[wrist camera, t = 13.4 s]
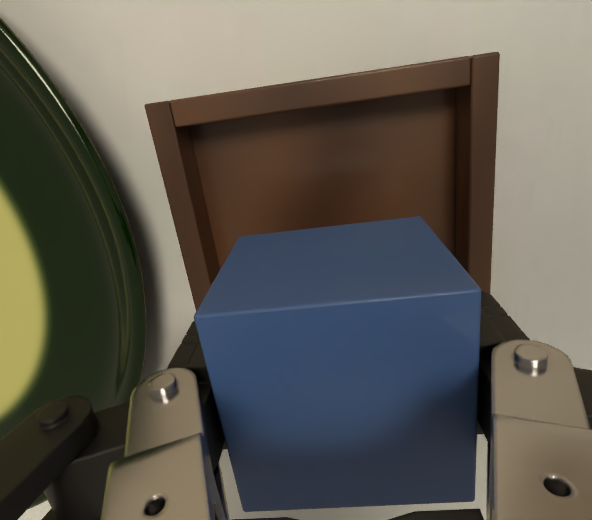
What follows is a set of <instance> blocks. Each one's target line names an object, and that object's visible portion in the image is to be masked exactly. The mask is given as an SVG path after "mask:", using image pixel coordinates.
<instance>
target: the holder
mask: <svg viewBox="0 0 592 520" xmlns="http://www.w3.org/2000/svg"><path fill="white" fill-rule="evenodd" d="M499 57H500V54H499V52H492V53H486V54H479V55H473V56H465V57H459V58H452V59H445V60H438V61H432V62H425V63H418V64H412V65H405V66H398V67H392V68H385V69H378V70H371V71H365V72H358V73H351V74H345V75H338V76H331V77H324V78H318V79H311V80H304V81H298V82H291V83H284V84H278V85H271V86H264V87H257V88H251V89H244V90H237V91H231V92H224V93H217V94H210V95H204V96H197V97H190V98H184V99H177V100H171V101H163V102H157V103H150V104H145V109H146V113H147V117H148V121H149V125H150V129H151V133H152V137H153V141H154V145H155V149H156V153H157V157H158V161H159V165H160V169H161V173H162V177H163V181H164V185H165V189H166V193H167V197H168V201H169V204H170V208H171V212H172V216H173V220H174V224H175V228H176V232H177V236H178V240H179V244H180V248H181V252H182V256H183V260H184V264H185V268H186V272H187V276H188V280H189V284H190V288H191V292H192V296H193V300H194V304H195V308H196V311H197V310H198V308H199V306H200V304H201V303H202V301H203V299H204V297H205V296H206V294H207V292H208V290H209V289H210V287H211V285H212V283H213V282H214V280H215V278H216V276H217V275H218V273H219V271H220V269H221V268H222V266H223V264H224V262H225V261H226V259H227V257H228V255H229V254H230V252H231V250H232V248H233V246H234V245H235V243H236V241H237V239H238V238H239V237H240V236H249V235H257V234H266V233H275V232H284V231H293V230H302V229H311V228H320V227H328V226H337V225H346V224H355V223H364V222H373V221H382V220H391V219H400V218H408V217H417V216H420V217H422V218H423V220H424V221H425V222H426V223H427V225H428V226H429V227H430V228H431V229H432V231H433V232H434V233H435V234H436V235H437V237H438V238H439V239H440V240H441V241H442V243H443V244H444V245H445V246H446V247H447V249H448V250H449V251H450V252H451V253H452V255H453V256H454V257H455V258H456V259H457V261H458V262H459V263H460V264H461V266H462V267H463V268H464V269H465V270H466V272H467V273H468V274H469V275H470V276H471V278H472V279H473V280H474V281H475V282H476V284H477V285H478V286H479V287H480V289H481V290H482V291H484V292H486V293H488V294H490V283H491V258H492V233H493V208H494V183H495V158H496V133H497V108H498V83H499Z"/></svg>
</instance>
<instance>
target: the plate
mask: <svg viewBox="0 0 592 520" xmlns="http://www.w3.org/2000/svg"><path fill="white" fill-rule="evenodd" d="M146 333H147V329H146V304H145V294H144V285H143V279H142V273H141V267H140V262H139V257H138V253H137V249H136V245H135V241H134V237H133V234H132V231H131V228H130V225H129V222H128V218H127V215H126V213H125V210H124V208H123V205H122V203H121V200H120V198H119V195H118V193H117V191H116V189H115V186H114V184H113V182H112V180H111V177H110V175H109V173H108V172H107V170H106V168H105V166H104V164H103V162H102V160H101V158H100V156H99V154H98V152H97V150H96V149H95V147H94V145H93V143H92V141H91V140H90V138H89V136H88V135H87V133H86V131H85V130H84V128H83V126H82V125H81V123H80V121H79V120H78V118H77V116H76V115H75V113H74V112H73V110H72V109H71V107H70V106H69V104H68V103H67V101H66V100H65V98H64V97H63V95H62V94H61V92H60V91H59V90H58V88H57V87H56V85H55V84H54V83H53V81H52V80H51V78H50V77H49V76H48V74H47V73H46V72H45V70H44V69H43V68H42V67H41V65H40V64H39V63H38V61H37V60H36V59H35V57H34V56H33V55H32V54H31V52H30V51H29V50H28V49H27V48H26V46H25V45H24V44H23V43H22V42H21V40H20V39H19V38H18V37H17V36H16V35H15V33H14V32H13V31H12V30H11V29H10V28H9V27H8V26H7V24H6V23H5V22H4V21H3V20H2V19H1V18H0V439H1V438H2V437H3V436H5V435H6V434H7V433H8V432H9V431H11V430H12V429H13V428H14V427H15V426H16V425H18V424H19V423H20V422H21V421H22V420H24V419H25V418H26V417H27V416H28V415H30V414H31V413H32V412H34V411H35V410H36V409H38V408H39V407H41V406H43V405H45V404H47V403H49V402H51V401H53V400H56V399H59V398H62V397H66V396H72V395H81V396H85V397H87V398H88V399H89V400H90V402H91V404H92V406H93V409H94V412H97V411H100V410H104V409H107V408H111V407H114V406H118V405H121V404H124V403H127V402H130V397H131V393H132V391H133V390H134V388H135V387H136V386H137V385H138V384H139V383H140V382H141V378H142V374H143V368H144V361H145V352H146ZM47 500H48V499H47V497H46V495H45V493H44V492H43V493H42V494H41V495H40V496H39V497H38V498H37V499H36V500H35V501H34V502H33V503H32V505H31V506H30V507H29V508H28V509H30V508H32V507H34V506H36V505H39V504H41V503H43V502H45V501H47Z"/></svg>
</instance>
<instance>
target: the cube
mask: <svg viewBox="0 0 592 520" xmlns="http://www.w3.org/2000/svg"><path fill="white" fill-rule="evenodd" d="M480 316H481V289H480V287H479V286H478V285H477V284H476V282H475V281H474V280H473V279H472V278H471V276H470V275H469V274H468V273H467V272H466V270H465V269H464V268H463V267H462V266H461V264H460V263H459V262H458V261H457V259H456V258H455V257H454V256H453V255H452V253H451V252H450V251H449V250H448V249H447V247H446V246H445V245H444V244H443V243H442V241H441V240H440V239H439V238H438V237H437V235H436V234H435V233H434V232H433V231H432V229H431V228H430V227H429V226H428V225H427V223H426V222H425V221H424V220H423V218H422V217H420V216H417V217H408V218H400V219H391V220H382V221H373V222H364V223H355V224H346V225H337V226H328V227H320V228H311V229H302V230H293V231H284V232H275V233H266V234H257V235H249V236H240V237H239V238H238V239H237V241H236V243H235V245H234V246H233V248H232V250H231V252H230V254H229V255H228V257H227V259H226V261H225V262H224V264H223V266H222V268H221V269H220V271H219V273H218V275H217V276H216V278H215V280H214V282H213V283H212V285H211V287H210V289H209V290H208V292H207V294H206V296H205V297H204V299H203V301H202V303H201V304H200V306H199V308H198V310H197V311H196V313H195V315H194V319H195V323H196V327H197V331H198V335H199V339H200V343H201V347H202V351H203V355H204V359H205V363H206V367H207V370H208V374H209V378H210V382H211V386H212V390H213V394H214V398H215V402H216V406H217V410H218V414H219V418H220V421H221V425H222V429H223V433H224V437H225V441H226V445H227V449H228V453H229V457H230V461H231V465H232V469H233V473H234V476H235V480H236V484H237V488H238V492H239V496H240V500H241V504H242V508H243V511H245V512H252V511H274V510H296V509H319V508H341V507H363V506H385V505H407V504H429V503H452V502H472V501H474V500H475V475H476V443H477V411H478V380H479V348H480Z"/></svg>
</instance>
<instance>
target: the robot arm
mask: <svg viewBox="0 0 592 520" xmlns="http://www.w3.org/2000/svg"><path fill="white" fill-rule="evenodd" d="M477 434H484V435H485V437H486V439H487V441H488V444H487V505H486V520H592V370H585V369H579V368H574V367H573V365H572V362H571V360H570V359H569V358H568V356H567V355H565V354H564V353H563V352H562V351H560V350H559V349H557V348H555V347H553V346H550V345H548V344H545V343H541V342H537V341H531V340H529V338H528V337H527V336H526V335H525V334H524V333H523V331H522V330H521V329H520V328H519V327H518V326H517V324H516V323H515V322H514V321H513V320H512V319H511V317H510V316H508V315H507V313H506V312H505V310H504V309H503V308H502V307H500V305H499V303H498V302H497V301H496V300H495V299H494V298H493V296H492V295H490V294H488V293H486V292H484V291H482V290H481V316H480V348H479V380H478V411H477ZM222 449H227V445H226V441H225V437H224V433H223V429H222V425H221V421H220V418H219V414H218V410H217V406H216V402H215V398H214V394H213V390H212V386H211V382H210V378H209V374H208V370H207V367H206V363H205V359H204V355H203V351H202V347H201V343H200V339H199V335H198V331H197V327H196V323H195V321H194V322H193V323H192V324H191V326H190V328H189V330H188V332H187V335H185V337H184V339H183V340H182V344H180V346H179V348H178V349H177V351H176V353H175V355H174V357H173V358H172V360H171V362H170V364H169V366H168V367H167V369H165V370H162V371H159V372H156V373H154V374H152V375H150V376H148V377H147V378H145V379H144V380H142V381H141V382H140V383H139V384H138V385H137V386H136V387H135V388H134V390H133V391H132V393H131V397H130V402H127V403H124V404H121V405H118V406H114V407H111V408H107V409H104V410H100V411H97V412H94V409H93V406H92V404H91V402H90V400H89V399H88V398H87V397H85V396H81V395H72V396H66V397H62V398H59V399H56V400H53V401H51V402H49V403H47V404H45V405H43V406H41V407H39V408H38V409H36V410H35V411H34V412H32V413H31V414H30V415H28V416H27V417H26V418H25V419H24V420H22V421H21V422H20V423H19V424H18V425H16V426H15V427H14V428H13V429H12V430H11V431H9V432H8V433H7V434H6V435H5V436H3V437H2V438H1V439H0V520H18V518H19V517H20V516H21V515H22V514H23V513H24V512H25V511H26V510H27V509H28V508H29V507H30V506H31V505H32V503H33V502H34V501H35V500H36V499H37V498H38V497H39V496H40V495H41V494H42V493H43V492H44V493H45V495H46V497H47V499H48V501H49V503H50V505H51V507H52V508H51V510H50V511H49V512H48V513H47V514H46V515H45V516H44V518H43V519H42V520H230V519H229V513H228V507H227V501H226V495H225V489H224V483H223V478H222V472H221V468H220V464H219V460H220V456H221V453H222ZM234 520H297V519H293V518H288V517H280V518H257V519H234ZM389 520H484V519H483V516H482V514H481V511H480V509H460V510H438V511H415V512H412V513H408V514H405V515H402V516H399V517H395V518H392V519H389Z"/></svg>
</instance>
